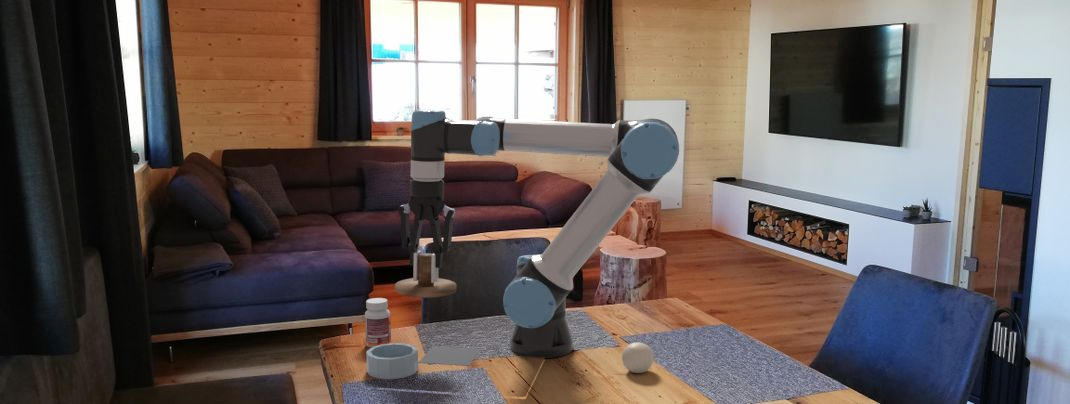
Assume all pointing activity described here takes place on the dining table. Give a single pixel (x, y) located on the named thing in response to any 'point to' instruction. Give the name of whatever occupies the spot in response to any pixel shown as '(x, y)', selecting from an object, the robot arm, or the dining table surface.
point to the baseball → (637, 357)
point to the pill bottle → (377, 322)
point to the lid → (425, 282)
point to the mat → (450, 355)
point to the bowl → (392, 361)
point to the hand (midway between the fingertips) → (425, 280)
